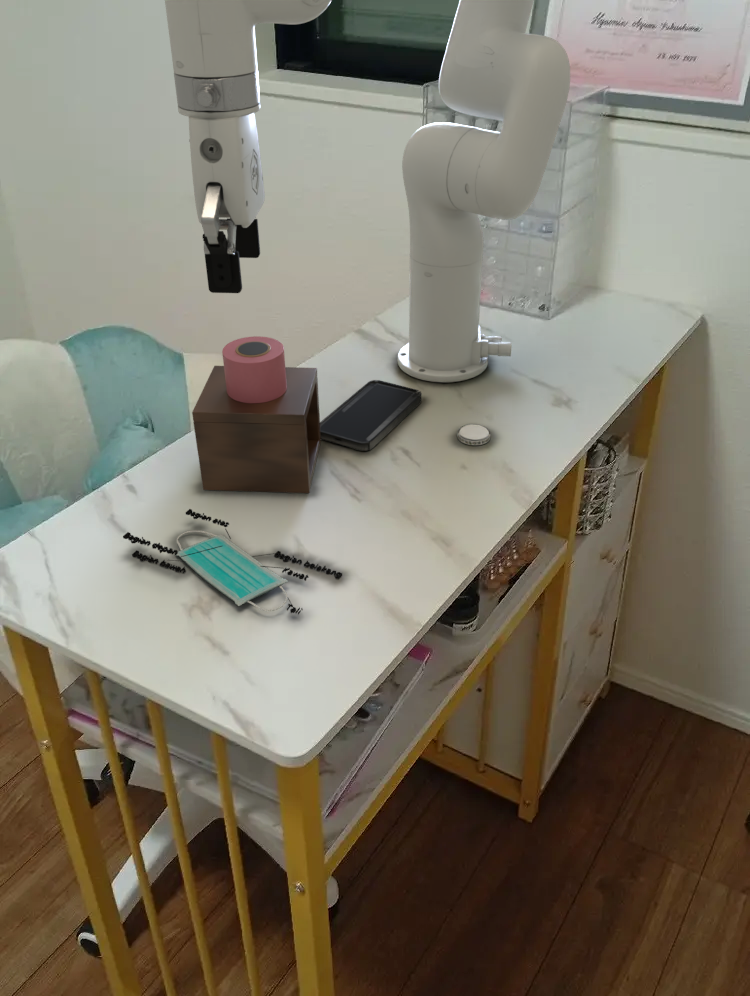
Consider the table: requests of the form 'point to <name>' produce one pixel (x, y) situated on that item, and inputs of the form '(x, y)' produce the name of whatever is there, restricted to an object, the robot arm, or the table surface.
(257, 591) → the surgical mask
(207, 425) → the desk shelf
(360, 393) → the phone
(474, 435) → the white bottle cap
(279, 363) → the tape roll
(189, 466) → the table surface
